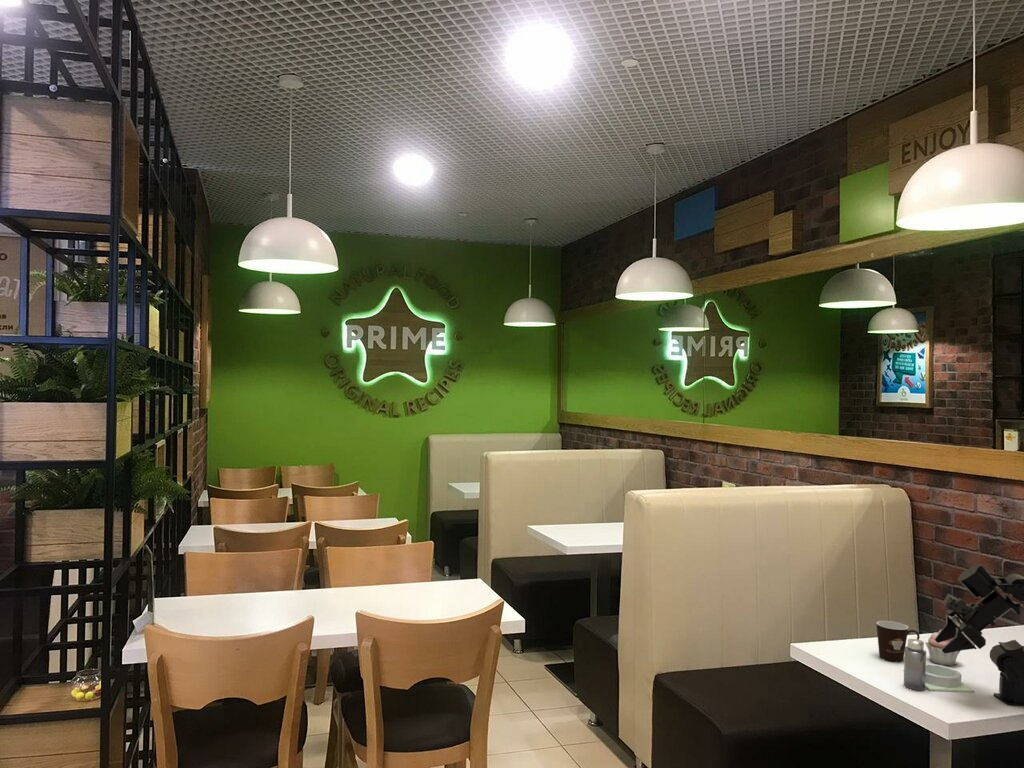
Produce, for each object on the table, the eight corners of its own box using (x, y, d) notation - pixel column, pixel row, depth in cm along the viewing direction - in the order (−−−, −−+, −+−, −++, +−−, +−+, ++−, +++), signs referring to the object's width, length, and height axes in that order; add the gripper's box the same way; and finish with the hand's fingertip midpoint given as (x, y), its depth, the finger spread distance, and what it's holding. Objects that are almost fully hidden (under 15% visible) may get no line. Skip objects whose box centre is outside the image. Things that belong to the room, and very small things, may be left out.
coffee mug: (874, 660, 230) (875, 626, 230) (876, 651, 237) (877, 619, 237) (918, 667, 224) (919, 633, 224) (918, 659, 232) (919, 625, 232)
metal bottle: (929, 691, 206) (930, 644, 206) (909, 690, 206) (911, 643, 206) (919, 684, 212) (920, 638, 212) (899, 683, 212) (901, 637, 212)
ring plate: (974, 692, 207) (974, 681, 207) (929, 690, 207) (929, 679, 207) (945, 672, 221) (945, 662, 221) (903, 671, 221) (903, 660, 221)
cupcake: (917, 658, 232) (918, 625, 232) (939, 655, 236) (940, 622, 236) (946, 669, 224) (947, 635, 224) (967, 665, 227) (968, 631, 227)
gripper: (956, 578, 214) (910, 613, 218) (972, 594, 197) (923, 632, 200) (987, 610, 212) (941, 645, 215) (1007, 629, 194) (956, 667, 198)
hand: (939, 646), depth 207 cm, fingers open, 9 cm apart
